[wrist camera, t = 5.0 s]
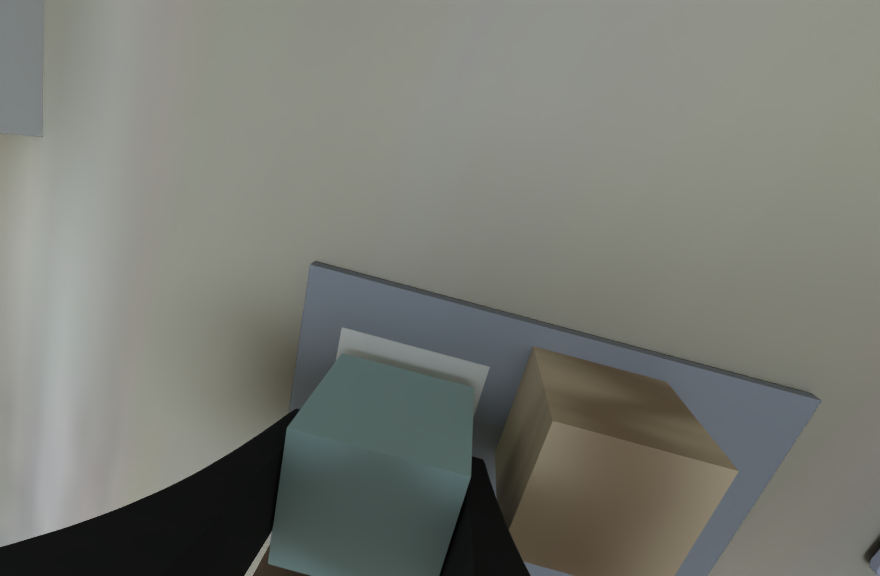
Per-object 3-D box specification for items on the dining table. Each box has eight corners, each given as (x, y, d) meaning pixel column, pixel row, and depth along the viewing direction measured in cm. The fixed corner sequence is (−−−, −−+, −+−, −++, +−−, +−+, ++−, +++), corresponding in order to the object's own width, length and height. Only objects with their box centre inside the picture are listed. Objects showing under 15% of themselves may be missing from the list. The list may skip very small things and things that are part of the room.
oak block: (666, 381, 13) (738, 471, 10) (614, 486, 15) (659, 599, 11) (533, 346, 13) (553, 421, 10) (494, 453, 15) (498, 554, 11)
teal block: (442, 493, 15) (428, 608, 11) (322, 461, 15) (267, 563, 11) (474, 387, 13) (471, 476, 10) (341, 352, 14) (286, 427, 10)
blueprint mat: (812, 393, 13) (822, 401, 13) (608, 711, 19) (611, 723, 19) (314, 261, 14) (309, 264, 13) (262, 613, 20) (258, 623, 19)
